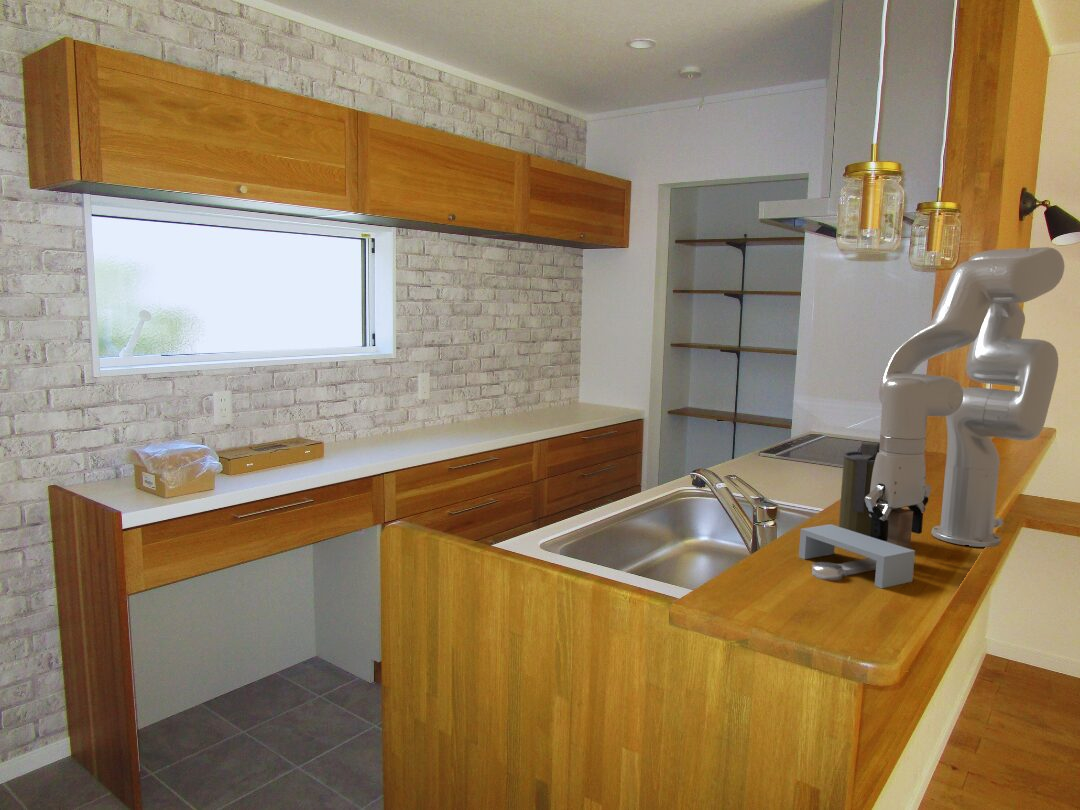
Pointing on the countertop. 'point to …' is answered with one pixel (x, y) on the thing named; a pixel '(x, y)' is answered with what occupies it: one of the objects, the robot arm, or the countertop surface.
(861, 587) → the countertop surface
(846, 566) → the pusher
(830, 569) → the token
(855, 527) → the canister
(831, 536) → the shelf
